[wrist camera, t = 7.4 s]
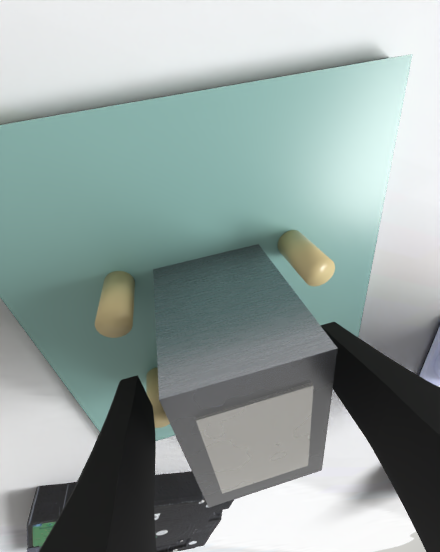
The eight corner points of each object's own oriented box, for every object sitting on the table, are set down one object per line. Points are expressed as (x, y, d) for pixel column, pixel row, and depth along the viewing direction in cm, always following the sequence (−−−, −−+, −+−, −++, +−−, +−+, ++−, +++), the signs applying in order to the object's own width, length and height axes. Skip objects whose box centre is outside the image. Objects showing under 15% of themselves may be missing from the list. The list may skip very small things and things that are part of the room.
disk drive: (229, 457, 25) (35, 479, 20) (238, 494, 23) (22, 529, 18) (200, 511, 30) (38, 540, 25) (205, 546, 28) (28, 585, 22)
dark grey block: (258, 244, 12) (340, 351, 7) (266, 353, 16) (323, 473, 11) (153, 269, 12) (159, 403, 6) (188, 375, 15) (209, 511, 10)
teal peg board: (390, 57, 10) (486, 42, 7) (341, 371, 20) (373, 416, 17) (-89, 140, 9) (-206, 162, 6) (116, 437, 19) (111, 499, 16)
